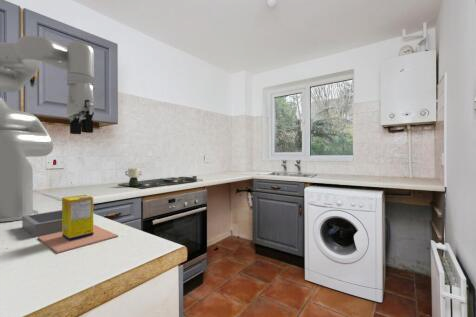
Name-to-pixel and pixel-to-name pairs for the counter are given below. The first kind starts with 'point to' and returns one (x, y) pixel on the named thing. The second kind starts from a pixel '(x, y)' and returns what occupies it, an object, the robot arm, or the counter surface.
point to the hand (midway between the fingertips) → (81, 133)
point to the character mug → (133, 176)
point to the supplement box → (77, 217)
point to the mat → (75, 240)
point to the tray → (43, 223)
